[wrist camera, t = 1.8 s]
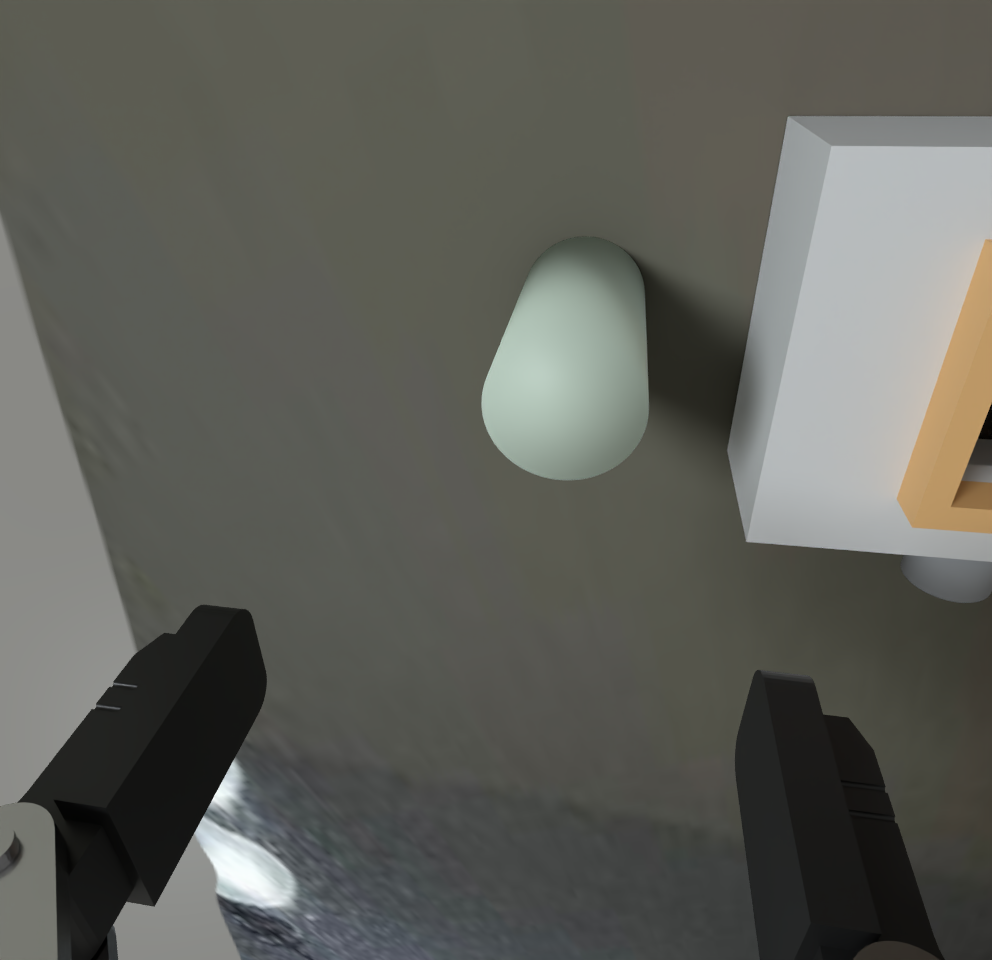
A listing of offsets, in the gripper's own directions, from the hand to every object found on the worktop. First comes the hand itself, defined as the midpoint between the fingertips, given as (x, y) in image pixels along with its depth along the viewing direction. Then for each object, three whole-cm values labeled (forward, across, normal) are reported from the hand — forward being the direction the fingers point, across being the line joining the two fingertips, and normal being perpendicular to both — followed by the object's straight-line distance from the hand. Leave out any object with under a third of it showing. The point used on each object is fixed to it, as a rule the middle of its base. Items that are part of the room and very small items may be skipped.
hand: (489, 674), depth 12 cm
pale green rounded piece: (+18, 0, 0) cm, 18 cm away
